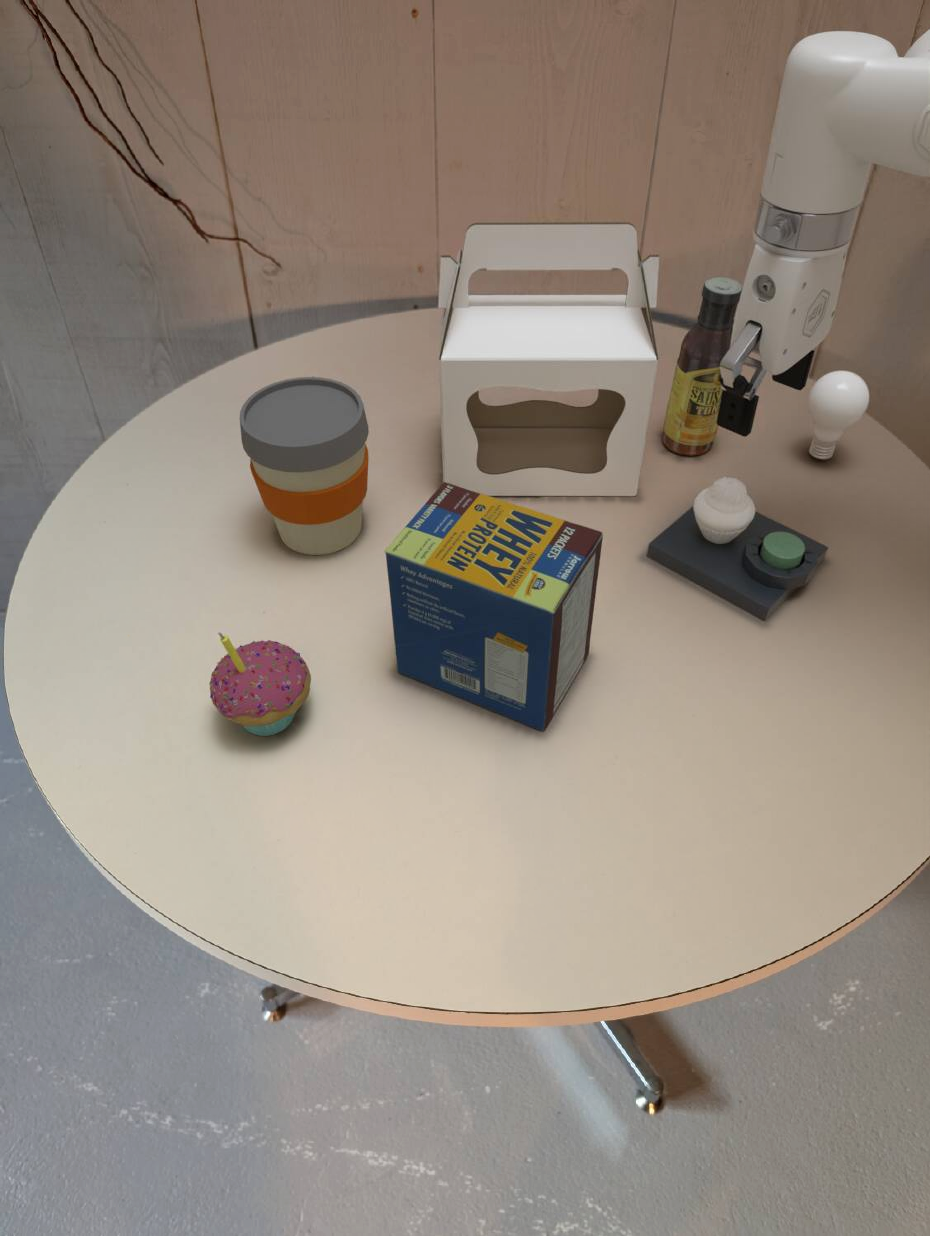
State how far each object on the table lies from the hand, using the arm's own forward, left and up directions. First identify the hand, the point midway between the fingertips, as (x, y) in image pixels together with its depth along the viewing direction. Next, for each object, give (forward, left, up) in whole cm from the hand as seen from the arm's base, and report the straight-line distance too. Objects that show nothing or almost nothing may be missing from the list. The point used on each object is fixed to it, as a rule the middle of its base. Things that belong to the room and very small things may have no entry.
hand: (761, 406), depth 84 cm
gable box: (+24, +2, -18) cm, 30 cm away
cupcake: (+18, +47, -18) cm, 53 cm away
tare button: (-6, +1, -14) cm, 16 cm away
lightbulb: (0, -21, -18) cm, 28 cm away
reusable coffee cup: (+34, +27, -18) cm, 47 cm away
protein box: (+7, +29, -18) cm, 35 cm away
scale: (-2, +1, -17) cm, 17 cm away
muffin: (+1, +1, -16) cm, 16 cm away
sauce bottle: (+13, -13, -18) cm, 26 cm away
